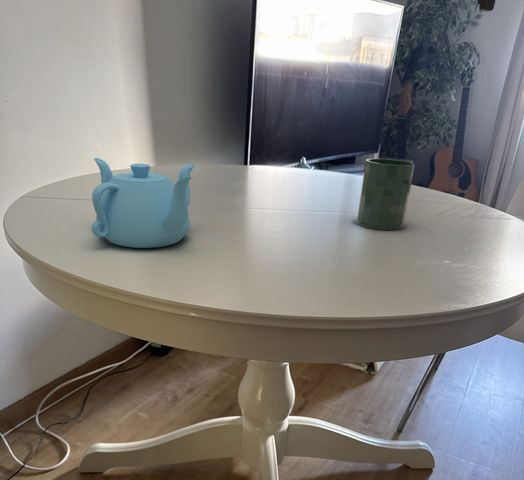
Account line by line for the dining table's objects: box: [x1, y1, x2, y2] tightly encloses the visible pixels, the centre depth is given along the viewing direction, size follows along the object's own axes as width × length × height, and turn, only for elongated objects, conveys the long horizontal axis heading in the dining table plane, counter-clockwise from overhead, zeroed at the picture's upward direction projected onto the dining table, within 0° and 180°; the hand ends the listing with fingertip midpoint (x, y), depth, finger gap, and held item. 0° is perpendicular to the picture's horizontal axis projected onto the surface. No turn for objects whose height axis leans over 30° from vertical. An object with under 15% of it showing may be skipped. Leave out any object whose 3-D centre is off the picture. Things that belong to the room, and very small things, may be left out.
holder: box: [356, 158, 416, 231], centre depth 83 cm, size 8×8×10 cm
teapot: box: [91, 157, 196, 249], centre depth 68 cm, size 15×15×10 cm
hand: (519, 7), depth 56 cm, fingers open, 8 cm apart
